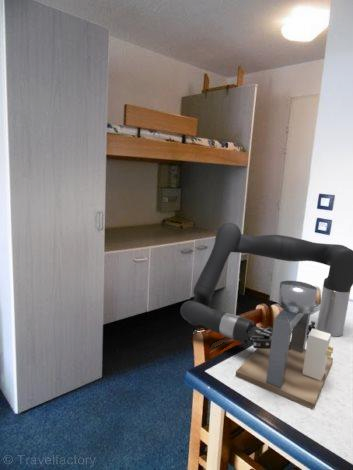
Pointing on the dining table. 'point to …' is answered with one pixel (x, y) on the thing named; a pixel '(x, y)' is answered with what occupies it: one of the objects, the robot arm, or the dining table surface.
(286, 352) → the grey two-legged stand
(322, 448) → the dining table surface
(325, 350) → the plug
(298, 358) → the track board
